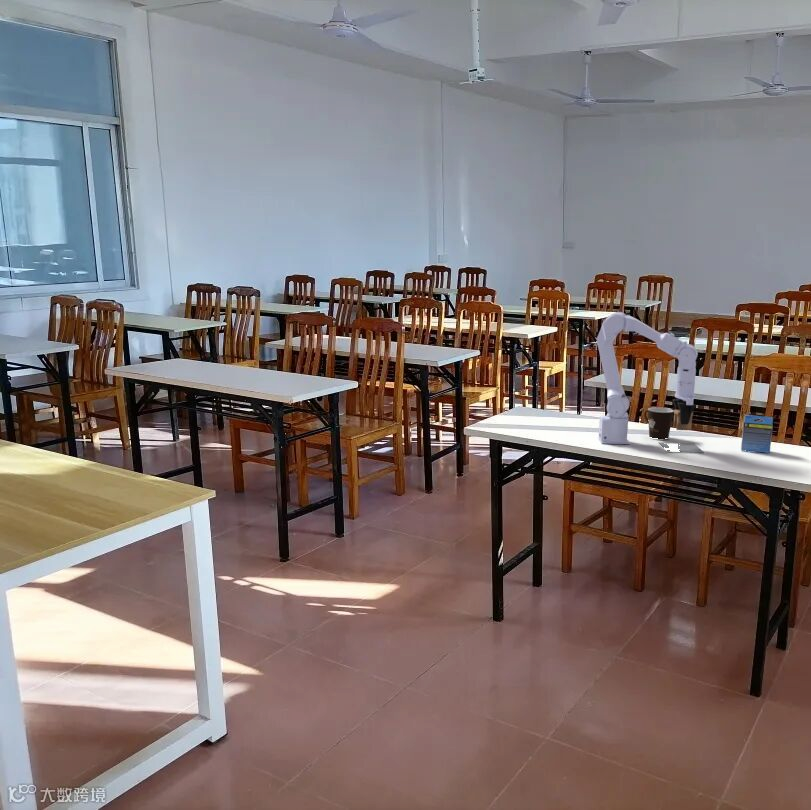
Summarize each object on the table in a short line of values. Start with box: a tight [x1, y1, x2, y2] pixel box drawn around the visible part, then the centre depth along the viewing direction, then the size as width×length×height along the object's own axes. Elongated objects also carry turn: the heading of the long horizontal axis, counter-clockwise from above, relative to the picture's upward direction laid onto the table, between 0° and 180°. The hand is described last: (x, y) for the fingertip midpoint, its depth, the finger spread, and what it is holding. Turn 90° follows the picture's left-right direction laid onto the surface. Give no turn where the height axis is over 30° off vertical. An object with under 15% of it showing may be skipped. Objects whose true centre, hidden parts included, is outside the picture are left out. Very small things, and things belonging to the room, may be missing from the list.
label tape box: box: [740, 414, 774, 454], centre depth 273 cm, size 9×4×12 cm, turn 68°
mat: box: [657, 441, 705, 454], centre depth 277 cm, size 12×12×1 cm
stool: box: [673, 409, 694, 431], centre depth 275 cm, size 5×4×6 cm
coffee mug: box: [643, 407, 675, 439], centre depth 292 cm, size 12×9×10 cm
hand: (682, 422), depth 275 cm, fingers closed on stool, 4 cm apart
